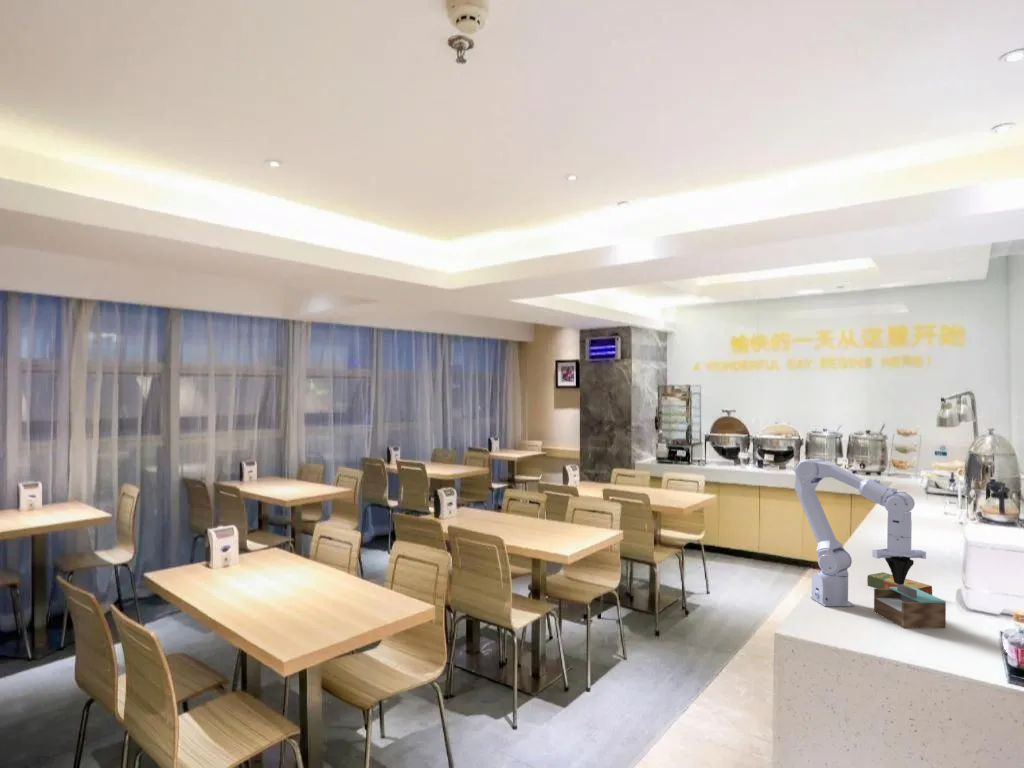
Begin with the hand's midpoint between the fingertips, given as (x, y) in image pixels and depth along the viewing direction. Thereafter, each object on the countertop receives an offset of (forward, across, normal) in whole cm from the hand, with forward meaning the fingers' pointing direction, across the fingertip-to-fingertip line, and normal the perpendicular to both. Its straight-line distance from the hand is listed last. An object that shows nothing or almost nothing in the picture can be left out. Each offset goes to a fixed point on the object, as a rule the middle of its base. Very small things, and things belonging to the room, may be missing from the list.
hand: (898, 583), depth 167 cm
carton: (+11, +18, +24) cm, 32 cm away
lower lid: (+6, +1, 0) cm, 6 cm away
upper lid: (+3, +5, 0) cm, 6 cm away
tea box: (+10, +3, 0) cm, 11 cm away
